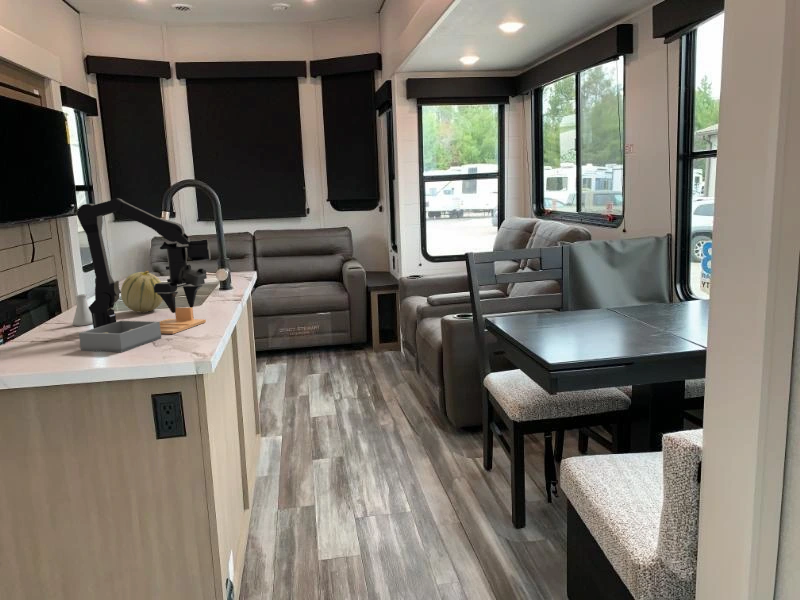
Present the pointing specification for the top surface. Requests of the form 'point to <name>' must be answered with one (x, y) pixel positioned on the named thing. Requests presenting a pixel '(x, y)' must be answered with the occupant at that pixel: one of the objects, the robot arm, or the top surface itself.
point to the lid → (180, 321)
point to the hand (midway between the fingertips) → (182, 310)
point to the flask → (82, 312)
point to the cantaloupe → (140, 292)
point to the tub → (120, 336)
